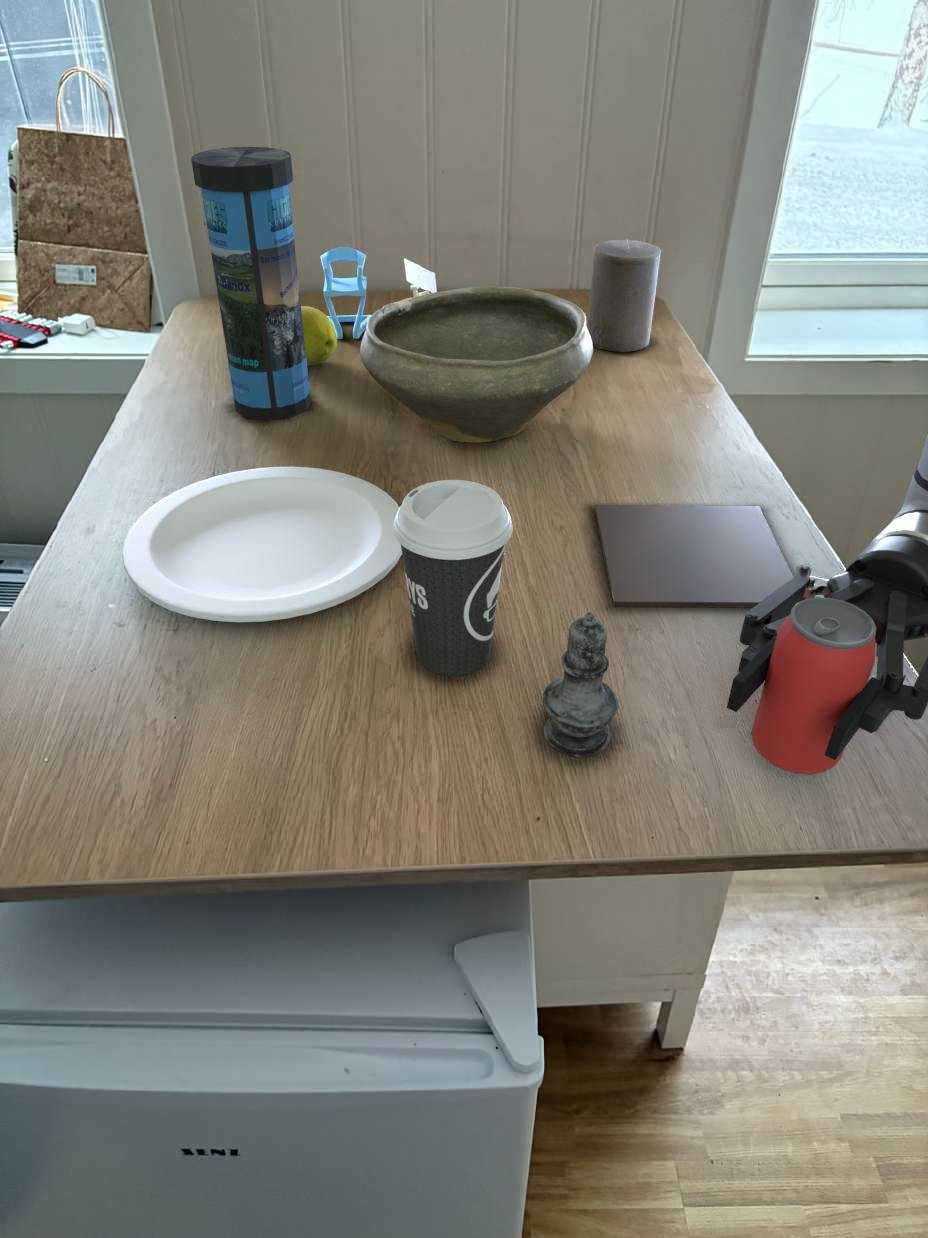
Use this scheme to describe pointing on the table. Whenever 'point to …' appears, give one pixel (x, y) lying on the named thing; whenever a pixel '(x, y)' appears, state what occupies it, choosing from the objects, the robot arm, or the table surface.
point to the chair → (345, 289)
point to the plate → (263, 544)
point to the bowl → (477, 357)
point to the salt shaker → (581, 693)
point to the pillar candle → (623, 294)
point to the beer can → (812, 682)
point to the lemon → (317, 335)
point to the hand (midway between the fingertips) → (783, 718)
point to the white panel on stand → (420, 278)
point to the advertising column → (256, 276)
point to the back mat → (689, 555)
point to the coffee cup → (453, 570)
